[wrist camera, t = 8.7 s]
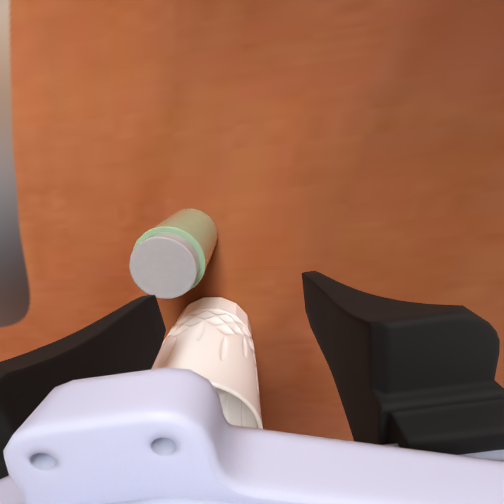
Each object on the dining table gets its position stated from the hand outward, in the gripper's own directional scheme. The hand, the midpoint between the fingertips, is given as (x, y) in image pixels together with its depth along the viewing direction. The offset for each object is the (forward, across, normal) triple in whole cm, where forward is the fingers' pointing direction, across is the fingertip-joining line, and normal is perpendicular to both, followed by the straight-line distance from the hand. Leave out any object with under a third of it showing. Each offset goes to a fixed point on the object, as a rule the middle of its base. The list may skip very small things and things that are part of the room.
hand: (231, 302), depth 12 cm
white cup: (+10, +4, +8) cm, 13 cm away
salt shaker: (+9, +4, -2) cm, 10 cm away
